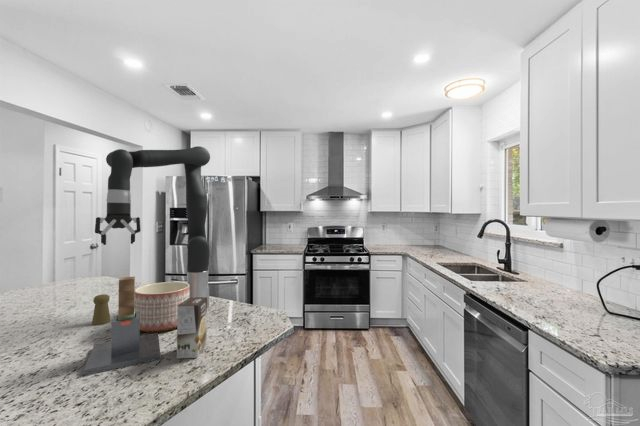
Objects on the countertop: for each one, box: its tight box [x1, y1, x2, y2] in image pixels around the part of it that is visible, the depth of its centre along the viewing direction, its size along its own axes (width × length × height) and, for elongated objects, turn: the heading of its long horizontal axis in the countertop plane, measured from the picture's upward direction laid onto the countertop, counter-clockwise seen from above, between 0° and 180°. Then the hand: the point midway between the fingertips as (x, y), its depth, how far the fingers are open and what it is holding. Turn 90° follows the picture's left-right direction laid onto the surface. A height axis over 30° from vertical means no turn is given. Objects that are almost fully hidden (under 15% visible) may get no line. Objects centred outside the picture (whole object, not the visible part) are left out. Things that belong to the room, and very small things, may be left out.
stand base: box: [83, 312, 161, 376], centre depth 89 cm, size 18×18×12 cm
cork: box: [91, 293, 112, 326], centre depth 115 cm, size 6×6×11 cm
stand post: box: [117, 276, 136, 320], centre depth 90 cm, size 4×4×16 cm
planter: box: [134, 281, 190, 333], centre depth 113 cm, size 19×19×15 cm
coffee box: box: [176, 297, 208, 359], centre depth 91 cm, size 9×6×16 cm
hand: (118, 244), depth 110 cm, fingers open, 8 cm apart
